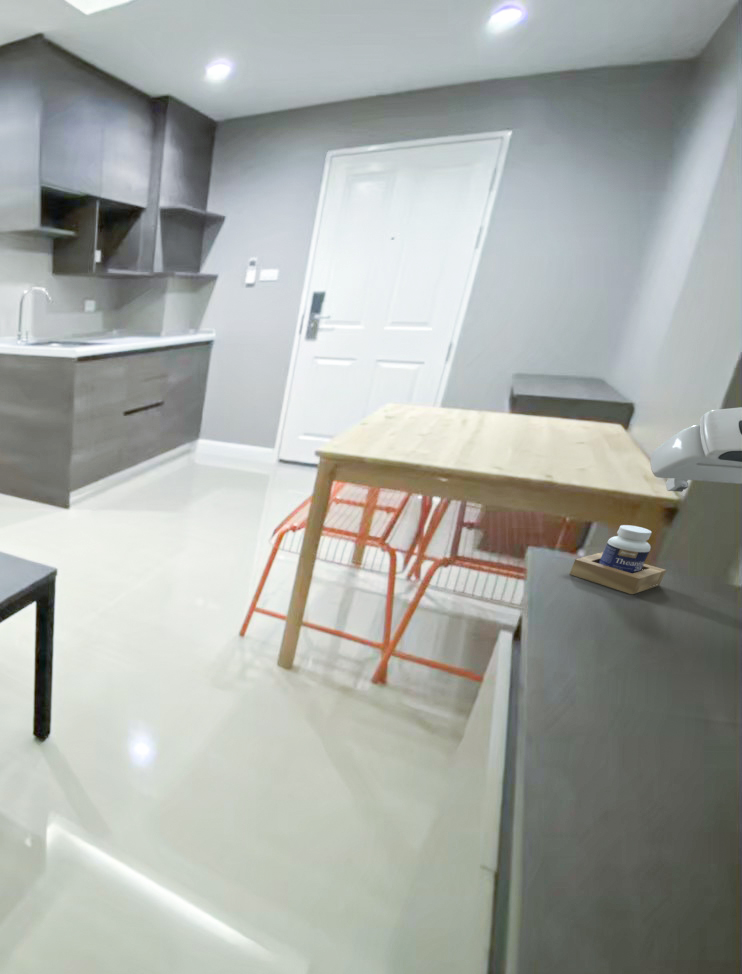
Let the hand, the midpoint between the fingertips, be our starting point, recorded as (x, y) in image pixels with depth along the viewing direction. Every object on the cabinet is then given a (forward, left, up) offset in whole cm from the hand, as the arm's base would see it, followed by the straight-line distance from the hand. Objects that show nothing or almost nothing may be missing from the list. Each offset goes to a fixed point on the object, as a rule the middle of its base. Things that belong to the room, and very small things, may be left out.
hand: (715, 490), depth 87 cm
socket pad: (-1, -16, -21) cm, 26 cm away
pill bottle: (-1, -16, -21) cm, 27 cm away
